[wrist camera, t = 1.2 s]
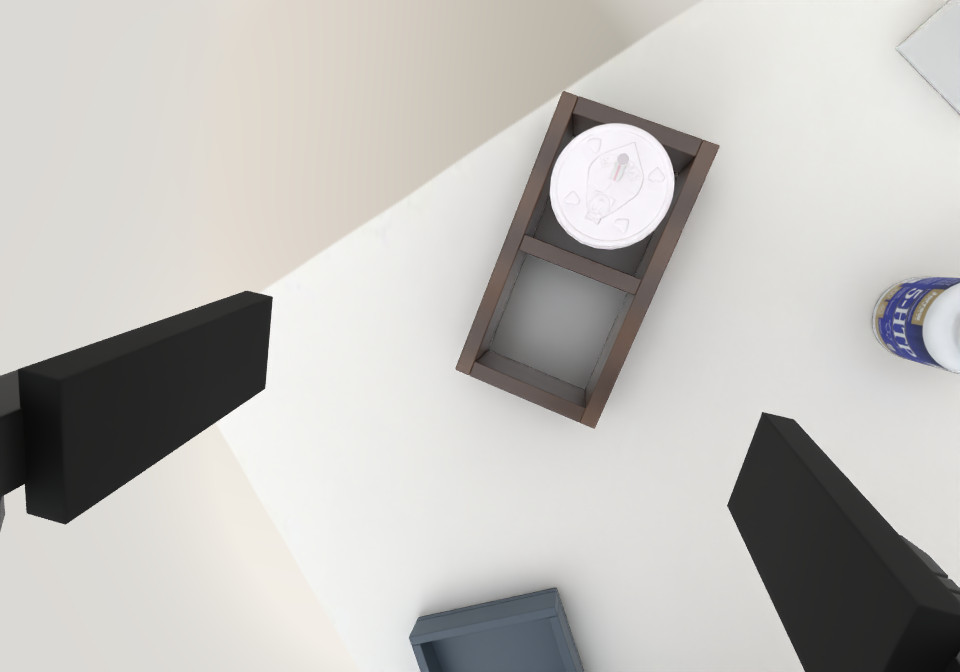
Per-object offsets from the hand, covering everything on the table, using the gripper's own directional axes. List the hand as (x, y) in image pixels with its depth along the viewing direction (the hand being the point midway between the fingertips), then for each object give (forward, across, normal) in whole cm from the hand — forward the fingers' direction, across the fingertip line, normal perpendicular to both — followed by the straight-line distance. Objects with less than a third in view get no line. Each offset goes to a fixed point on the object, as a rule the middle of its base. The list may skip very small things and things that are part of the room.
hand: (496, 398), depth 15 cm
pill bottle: (+25, -24, -2) cm, 35 cm away
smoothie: (+27, -3, -4) cm, 27 cm away
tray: (+21, -4, +31) cm, 38 cm away
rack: (+26, -2, 0) cm, 26 cm away
